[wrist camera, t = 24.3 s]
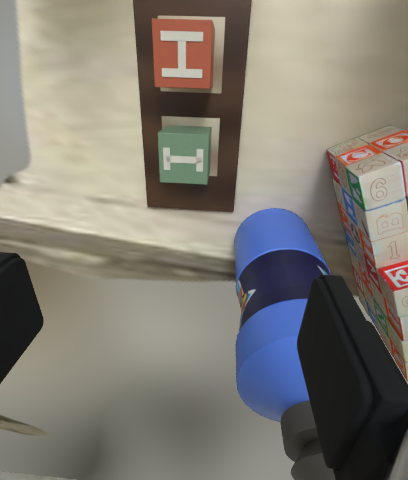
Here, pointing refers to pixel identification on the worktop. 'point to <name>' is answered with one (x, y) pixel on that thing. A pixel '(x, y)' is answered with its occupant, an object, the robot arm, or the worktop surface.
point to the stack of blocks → (377, 228)
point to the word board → (195, 101)
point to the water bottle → (278, 329)
